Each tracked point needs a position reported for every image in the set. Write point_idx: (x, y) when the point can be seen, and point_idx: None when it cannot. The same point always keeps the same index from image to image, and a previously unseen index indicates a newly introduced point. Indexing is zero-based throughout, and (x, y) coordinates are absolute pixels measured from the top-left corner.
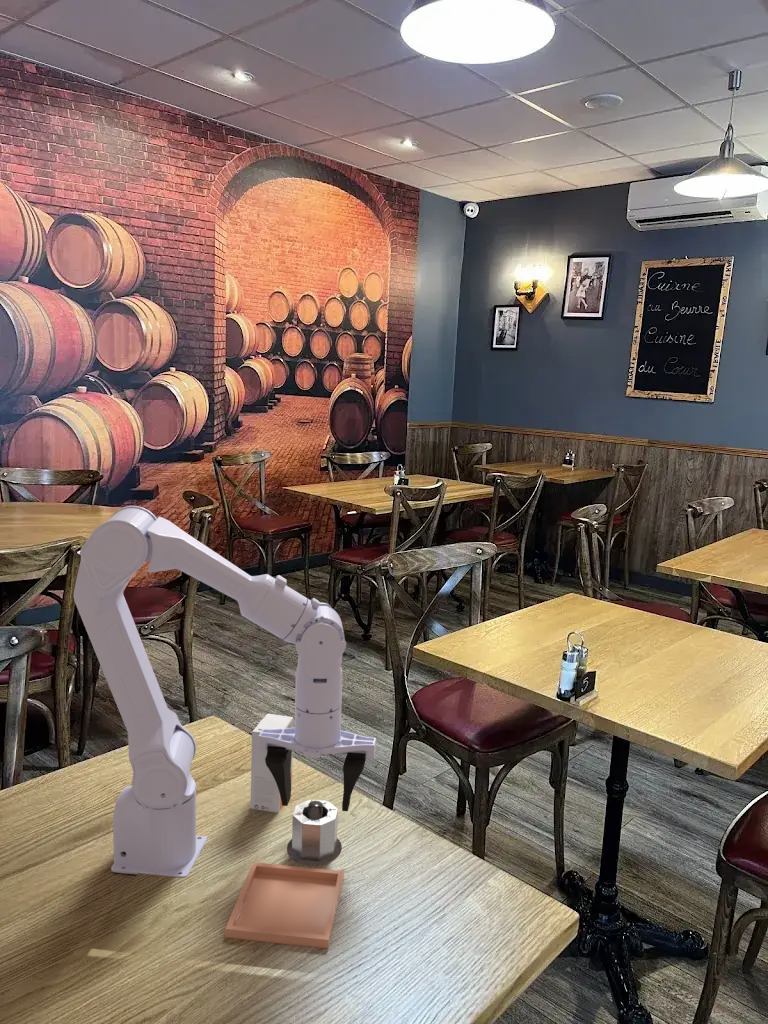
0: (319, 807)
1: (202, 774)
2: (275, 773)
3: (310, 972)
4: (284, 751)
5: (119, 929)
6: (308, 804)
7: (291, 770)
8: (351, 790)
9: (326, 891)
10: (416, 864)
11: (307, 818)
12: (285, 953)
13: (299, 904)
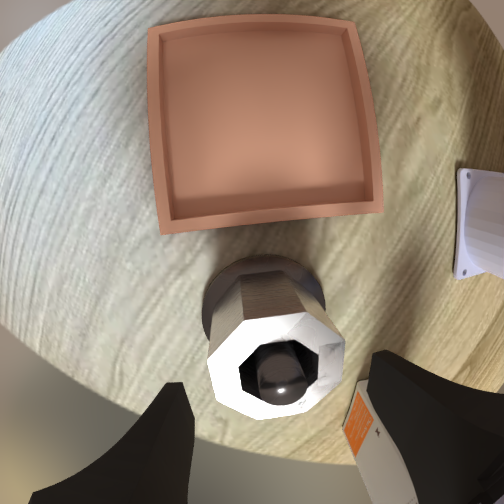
0: (267, 383)
1: None
2: (488, 400)
3: (177, 3)
4: (491, 494)
5: (469, 70)
6: (308, 394)
7: (356, 458)
8: (121, 438)
9: (191, 176)
10: (64, 317)
11: (296, 339)
12: None
13: (241, 120)
